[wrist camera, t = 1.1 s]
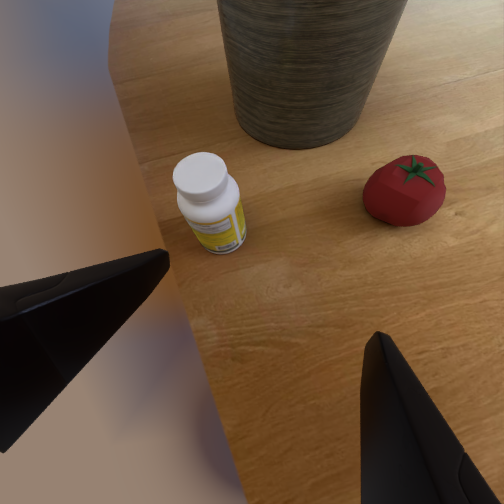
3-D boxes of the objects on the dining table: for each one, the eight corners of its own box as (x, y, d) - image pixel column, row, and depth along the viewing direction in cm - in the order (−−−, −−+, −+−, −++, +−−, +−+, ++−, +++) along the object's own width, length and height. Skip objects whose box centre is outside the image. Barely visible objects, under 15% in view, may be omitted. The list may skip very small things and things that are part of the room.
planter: (391, 106, 38) (508, -131, 19) (293, 175, 33) (325, -54, 14) (298, 56, 46) (318, -144, 27) (208, 106, 41) (159, -97, 23)
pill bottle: (220, 206, 31) (198, 136, 21) (256, 229, 29) (250, 163, 19) (189, 239, 29) (148, 178, 19) (225, 265, 27) (201, 213, 17)
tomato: (345, 210, 30) (367, 168, 23) (379, 174, 32) (408, 127, 25) (402, 247, 27) (445, 212, 20) (435, 206, 29) (484, 162, 22)
